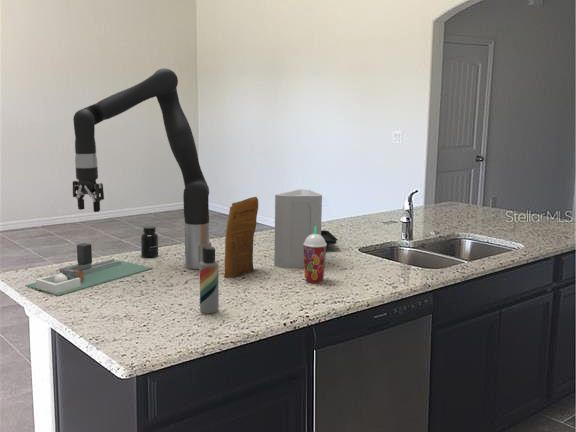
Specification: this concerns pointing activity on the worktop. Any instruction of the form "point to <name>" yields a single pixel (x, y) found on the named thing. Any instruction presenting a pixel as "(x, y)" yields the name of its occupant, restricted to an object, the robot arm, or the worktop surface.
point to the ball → (60, 278)
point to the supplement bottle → (149, 242)
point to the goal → (50, 286)
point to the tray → (328, 237)
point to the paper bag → (295, 225)
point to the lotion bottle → (209, 282)
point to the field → (103, 276)
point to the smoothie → (314, 257)
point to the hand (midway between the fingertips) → (88, 210)
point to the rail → (97, 267)
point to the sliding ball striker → (80, 262)
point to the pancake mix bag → (240, 237)
